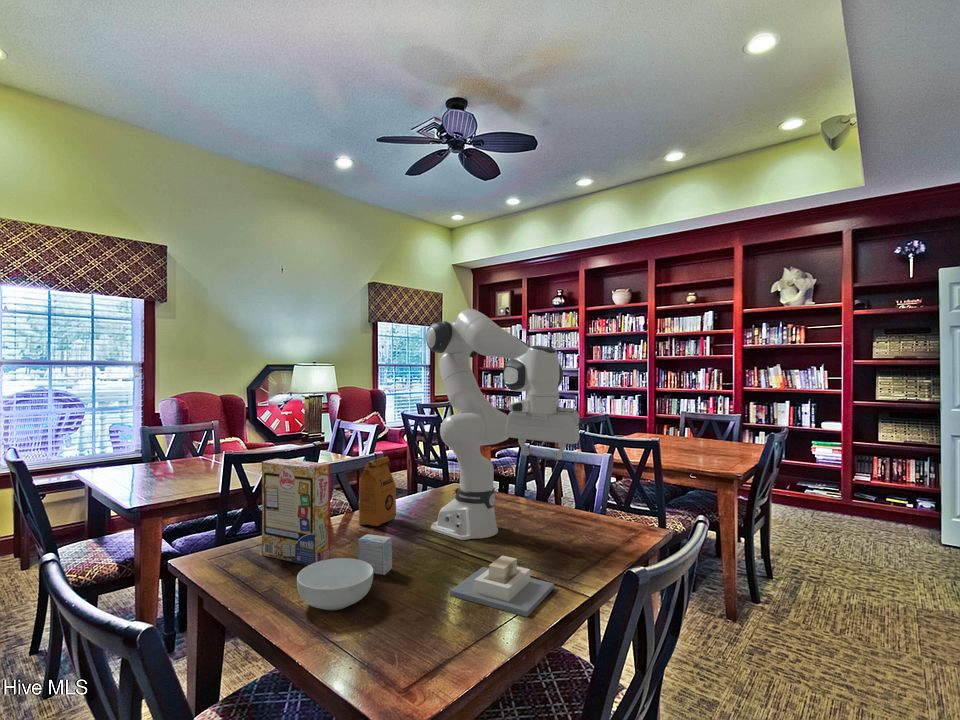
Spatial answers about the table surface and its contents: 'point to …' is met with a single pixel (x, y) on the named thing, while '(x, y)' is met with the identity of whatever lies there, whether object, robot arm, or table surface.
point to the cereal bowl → (334, 583)
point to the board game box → (296, 510)
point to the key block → (503, 569)
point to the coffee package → (377, 494)
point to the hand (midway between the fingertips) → (541, 457)
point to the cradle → (504, 591)
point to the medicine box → (376, 552)
